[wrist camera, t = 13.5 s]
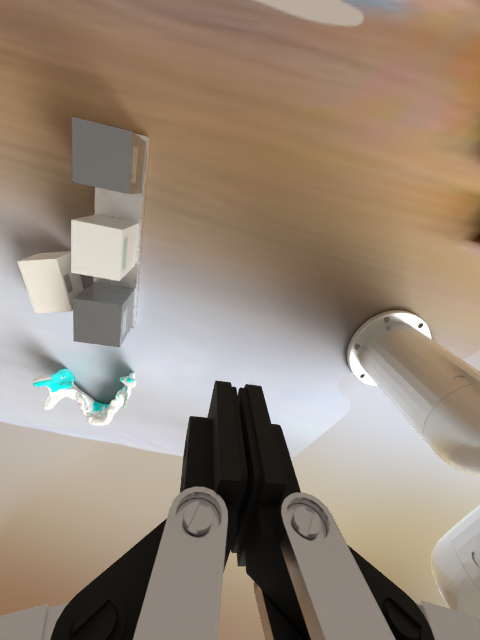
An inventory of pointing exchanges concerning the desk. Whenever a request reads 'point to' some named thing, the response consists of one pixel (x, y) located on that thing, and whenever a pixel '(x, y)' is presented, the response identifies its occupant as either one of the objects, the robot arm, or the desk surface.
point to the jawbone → (84, 396)
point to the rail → (116, 202)
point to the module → (103, 246)
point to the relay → (50, 281)
